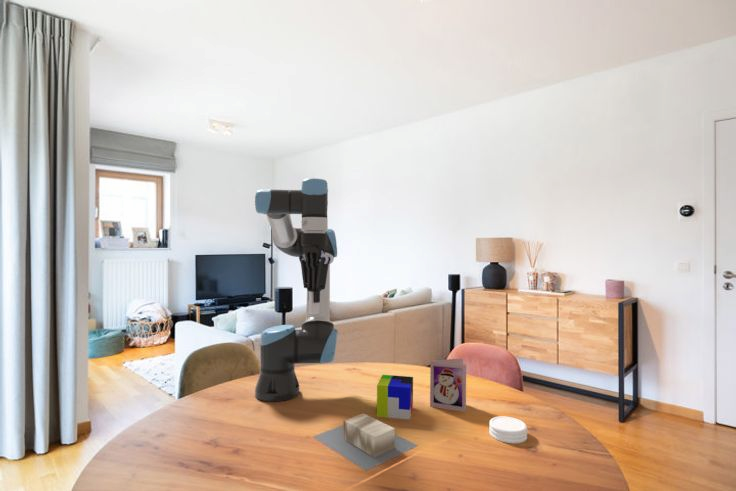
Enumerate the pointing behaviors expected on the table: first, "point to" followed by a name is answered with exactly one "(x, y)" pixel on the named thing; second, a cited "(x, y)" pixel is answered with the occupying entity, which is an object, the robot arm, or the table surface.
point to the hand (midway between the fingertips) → (313, 313)
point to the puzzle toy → (395, 396)
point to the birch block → (369, 434)
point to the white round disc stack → (508, 429)
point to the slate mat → (355, 454)
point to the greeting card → (448, 384)
